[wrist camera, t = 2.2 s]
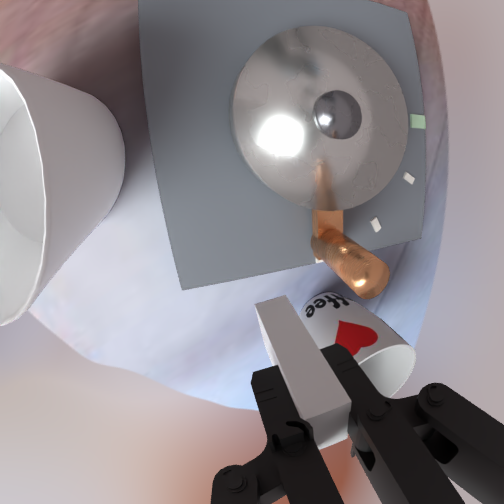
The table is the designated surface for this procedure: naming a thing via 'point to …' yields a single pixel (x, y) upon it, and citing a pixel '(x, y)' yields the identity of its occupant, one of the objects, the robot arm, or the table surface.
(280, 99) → the dial
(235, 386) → the table surface
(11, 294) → the cup
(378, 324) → the cup
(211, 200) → the board
